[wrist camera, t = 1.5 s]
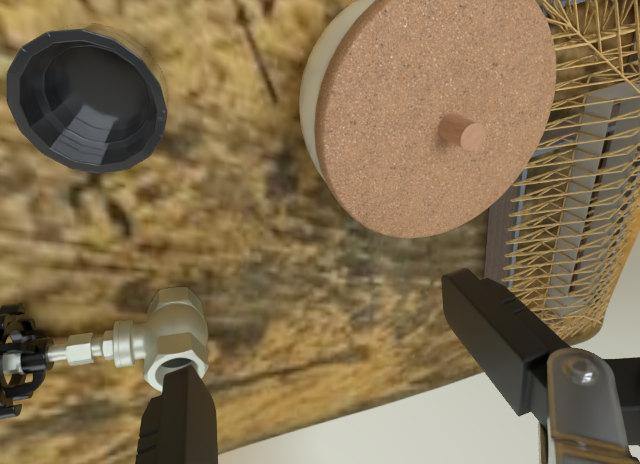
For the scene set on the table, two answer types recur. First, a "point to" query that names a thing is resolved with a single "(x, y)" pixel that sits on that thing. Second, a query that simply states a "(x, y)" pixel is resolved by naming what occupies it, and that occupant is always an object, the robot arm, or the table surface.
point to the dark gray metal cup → (88, 97)
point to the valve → (105, 345)
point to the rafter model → (578, 183)
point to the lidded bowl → (426, 107)
